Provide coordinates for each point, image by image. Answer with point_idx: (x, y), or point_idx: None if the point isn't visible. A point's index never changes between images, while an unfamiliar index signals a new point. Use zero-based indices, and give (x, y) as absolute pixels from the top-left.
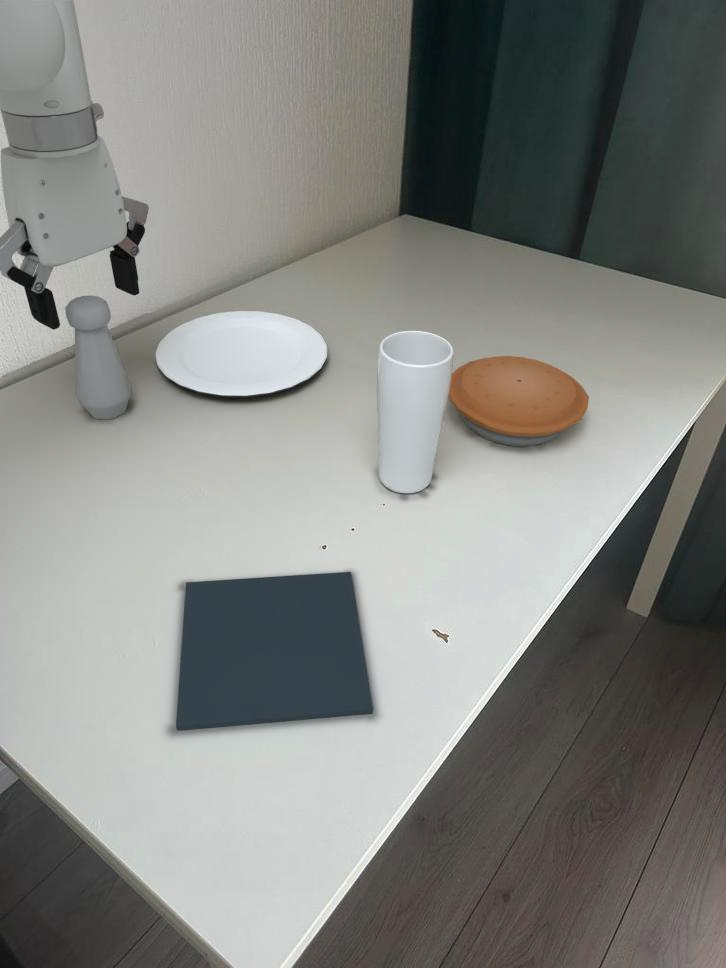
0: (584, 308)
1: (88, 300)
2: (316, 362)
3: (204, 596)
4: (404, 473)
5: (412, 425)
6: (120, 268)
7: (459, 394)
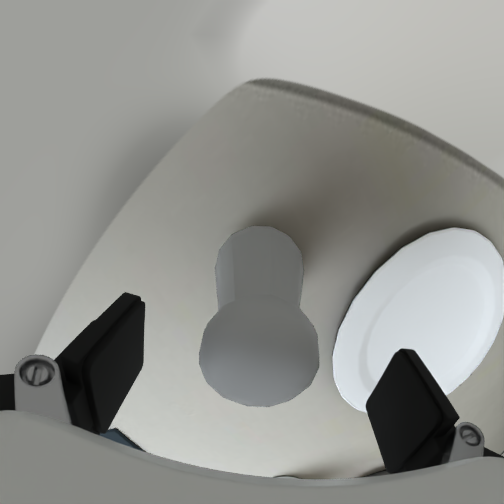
0: (495, 439)
1: (267, 380)
2: None
3: (115, 439)
4: None
5: None
6: (401, 426)
7: None
